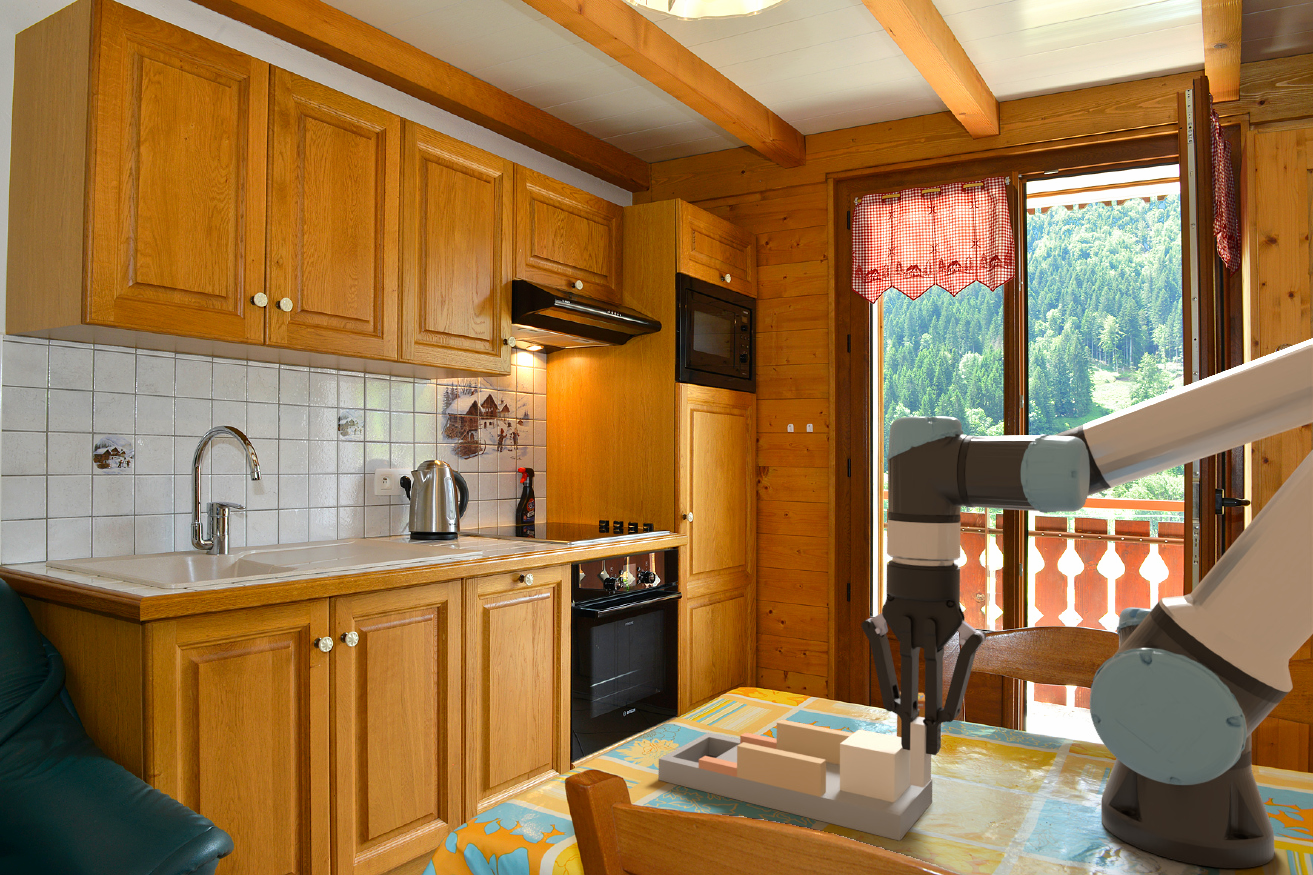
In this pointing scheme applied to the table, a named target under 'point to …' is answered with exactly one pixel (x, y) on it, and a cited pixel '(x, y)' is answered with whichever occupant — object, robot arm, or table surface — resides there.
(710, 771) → the tray
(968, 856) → the table surface
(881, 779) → the block
